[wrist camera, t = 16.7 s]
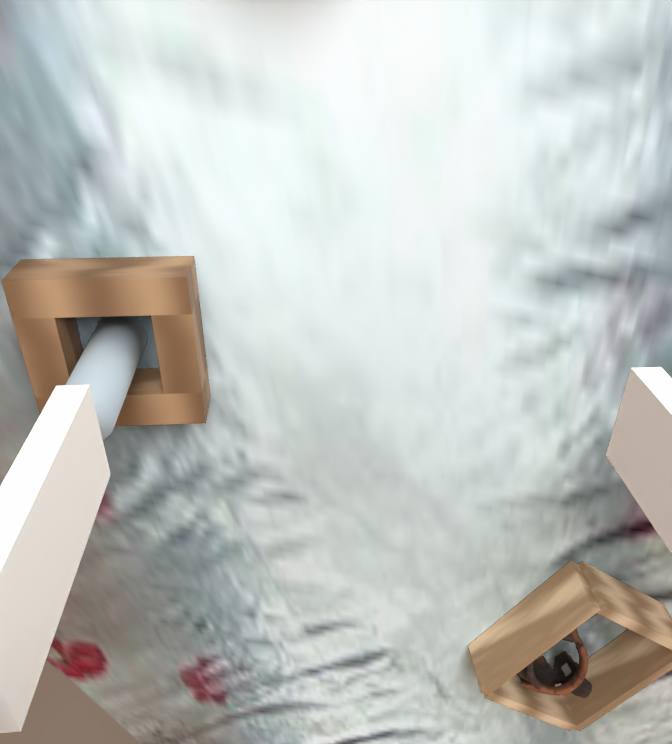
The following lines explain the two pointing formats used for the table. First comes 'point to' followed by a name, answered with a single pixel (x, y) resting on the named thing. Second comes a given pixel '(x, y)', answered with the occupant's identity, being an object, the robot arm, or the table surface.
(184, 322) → the socket
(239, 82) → the table surface
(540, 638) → the open wooden box
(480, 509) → the table surface
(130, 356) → the peg
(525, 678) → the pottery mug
